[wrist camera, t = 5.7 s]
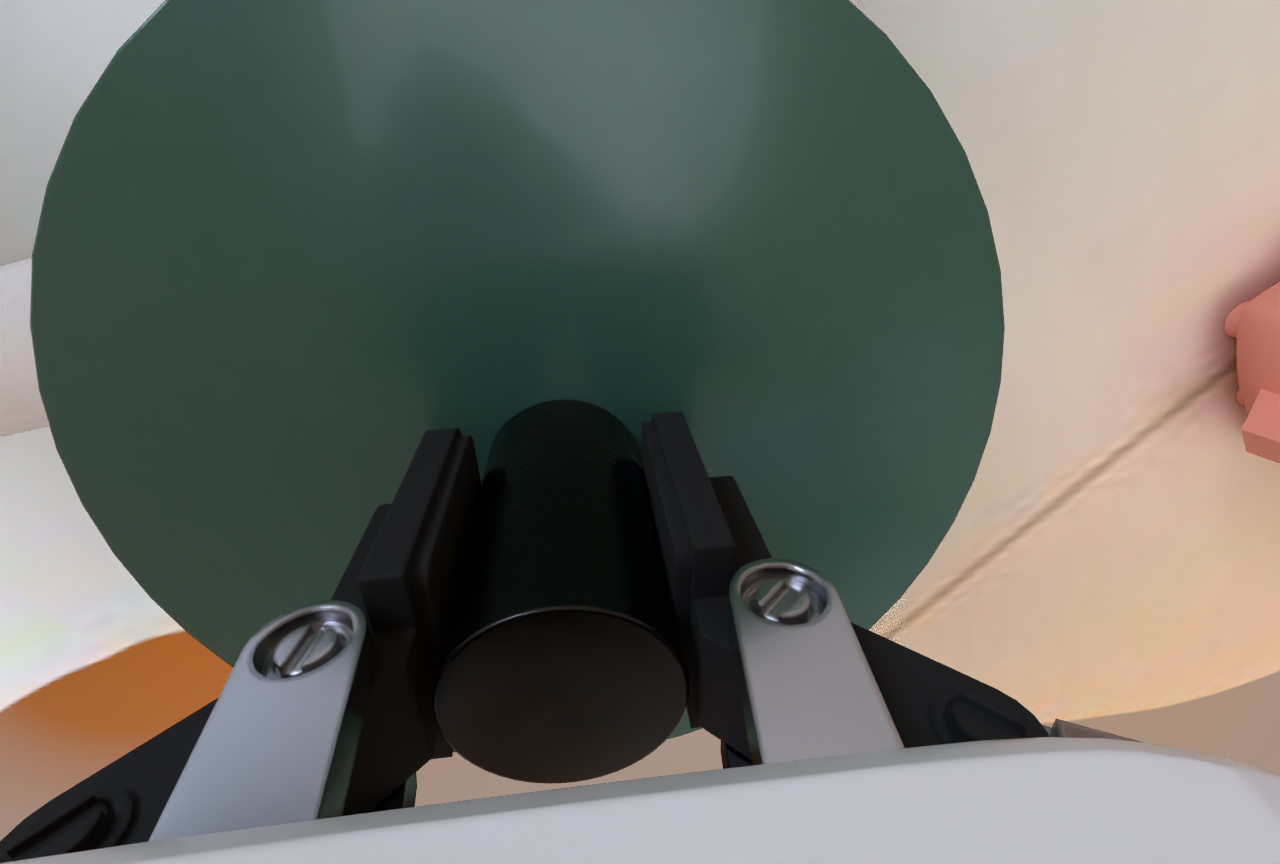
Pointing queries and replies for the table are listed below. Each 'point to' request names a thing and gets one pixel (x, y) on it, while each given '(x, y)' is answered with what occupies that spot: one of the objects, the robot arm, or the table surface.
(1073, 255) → the table surface
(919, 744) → the robot arm
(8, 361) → the roll
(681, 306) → the bin lid
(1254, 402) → the teapot
